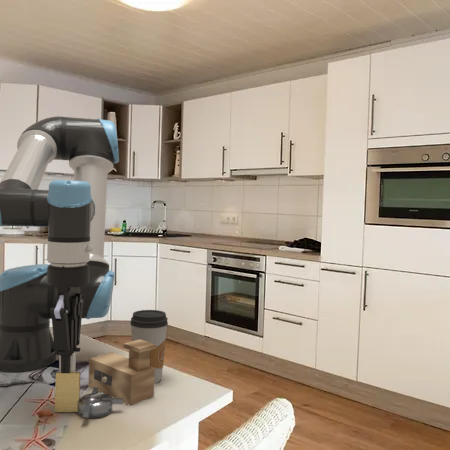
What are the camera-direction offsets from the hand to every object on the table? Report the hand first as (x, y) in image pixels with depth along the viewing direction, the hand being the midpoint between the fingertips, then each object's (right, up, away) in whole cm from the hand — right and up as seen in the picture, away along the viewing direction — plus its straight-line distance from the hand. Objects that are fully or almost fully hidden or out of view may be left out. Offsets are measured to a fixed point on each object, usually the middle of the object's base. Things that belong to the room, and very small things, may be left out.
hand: (67, 387), depth 90 cm
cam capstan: (+5, -5, 0) cm, 6 cm away
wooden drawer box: (+8, -4, +10) cm, 13 cm away
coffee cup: (+12, -4, +17) cm, 22 cm away
